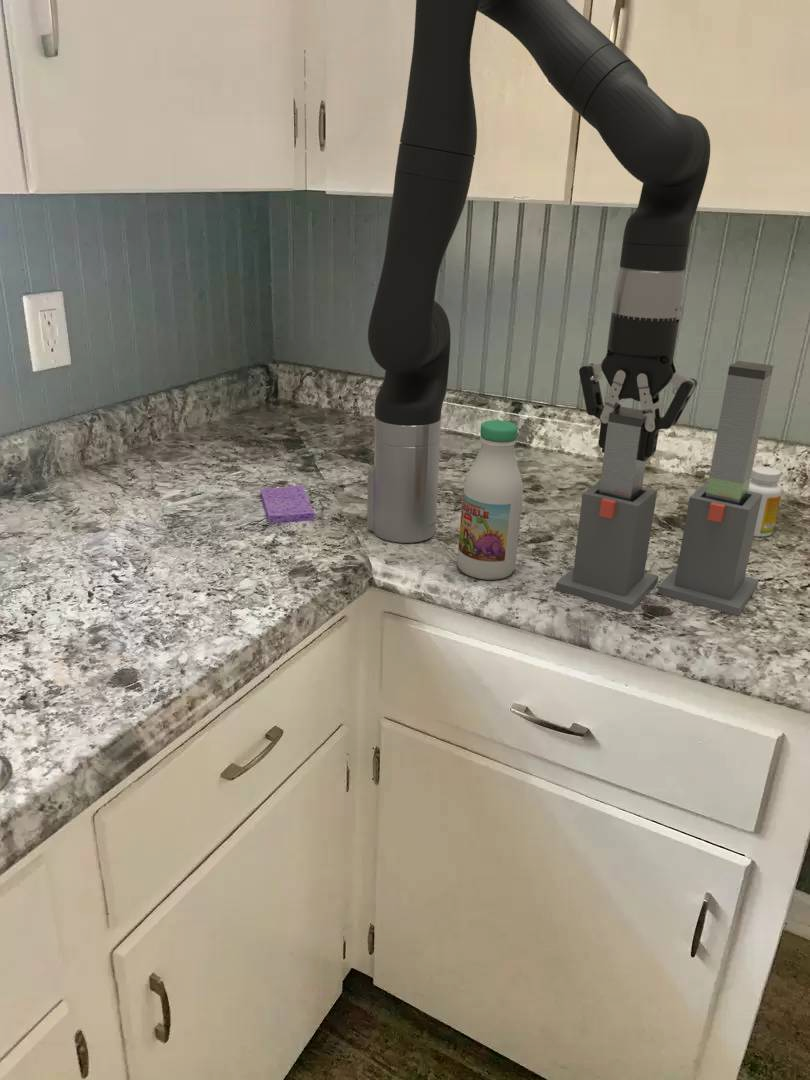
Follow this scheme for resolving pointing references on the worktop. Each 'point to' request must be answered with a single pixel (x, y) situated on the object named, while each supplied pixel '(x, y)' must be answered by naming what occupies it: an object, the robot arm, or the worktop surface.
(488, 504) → the milk bottle
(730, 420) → the column
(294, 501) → the sponges
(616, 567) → the stand
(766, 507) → the supplement bottle
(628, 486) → the column
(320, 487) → the worktop surface
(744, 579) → the stand
